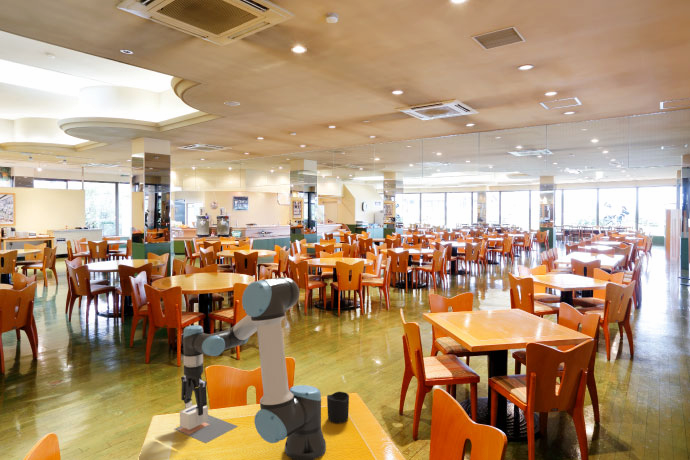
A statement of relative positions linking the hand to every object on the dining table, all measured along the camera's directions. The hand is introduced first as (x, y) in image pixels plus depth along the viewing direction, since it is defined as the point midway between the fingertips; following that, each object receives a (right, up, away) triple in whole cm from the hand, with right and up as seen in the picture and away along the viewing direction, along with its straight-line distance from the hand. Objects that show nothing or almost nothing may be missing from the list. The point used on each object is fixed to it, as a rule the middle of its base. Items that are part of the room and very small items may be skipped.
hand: (194, 420), depth 172 cm
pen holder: (+59, -3, +8) cm, 60 cm away
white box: (0, -1, 0) cm, 1 cm away
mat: (+5, -3, 0) cm, 6 cm away
